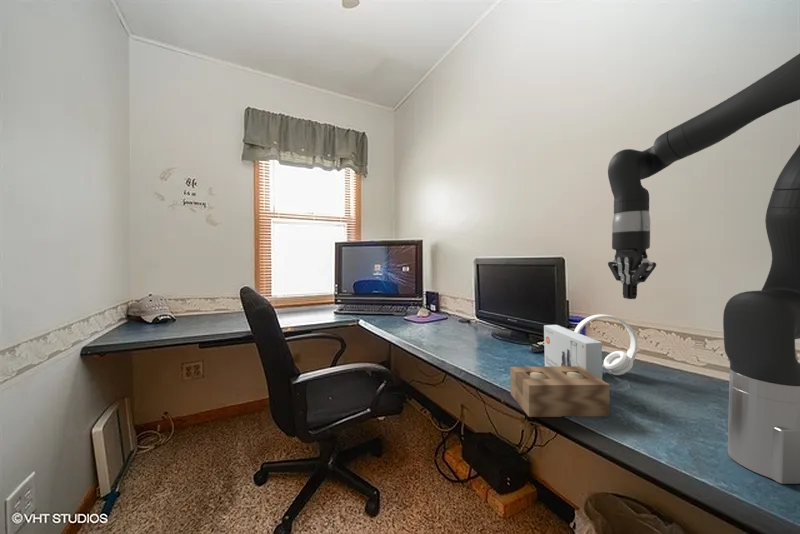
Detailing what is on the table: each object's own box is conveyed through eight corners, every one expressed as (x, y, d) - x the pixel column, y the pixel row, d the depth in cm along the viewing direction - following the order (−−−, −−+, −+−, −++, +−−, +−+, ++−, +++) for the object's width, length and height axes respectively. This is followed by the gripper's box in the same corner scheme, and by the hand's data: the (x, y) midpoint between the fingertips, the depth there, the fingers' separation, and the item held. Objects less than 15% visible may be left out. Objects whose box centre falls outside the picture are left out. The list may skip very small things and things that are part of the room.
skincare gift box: (542, 369, 101) (543, 324, 101) (557, 368, 102) (557, 324, 101) (585, 398, 80) (586, 342, 80) (603, 397, 81) (604, 341, 80)
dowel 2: (586, 407, 75) (586, 377, 75) (571, 407, 75) (571, 377, 75) (577, 400, 79) (577, 371, 79) (563, 400, 79) (563, 372, 79)
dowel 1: (548, 407, 75) (548, 378, 75) (533, 407, 75) (533, 378, 75) (541, 400, 79) (541, 372, 79) (527, 400, 79) (527, 372, 79)
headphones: (642, 380, 91) (643, 318, 91) (578, 376, 95) (578, 316, 94) (627, 370, 99) (628, 313, 98) (569, 367, 103) (569, 312, 102)
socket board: (579, 393, 83) (579, 366, 83) (609, 416, 71) (609, 384, 71) (510, 393, 83) (510, 366, 83) (528, 416, 71) (529, 385, 71)
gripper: (669, 227, 66) (668, 302, 66) (624, 232, 79) (624, 295, 80) (637, 228, 66) (636, 302, 66) (597, 233, 79) (597, 295, 80)
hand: (629, 298), depth 73 cm, fingers closed
